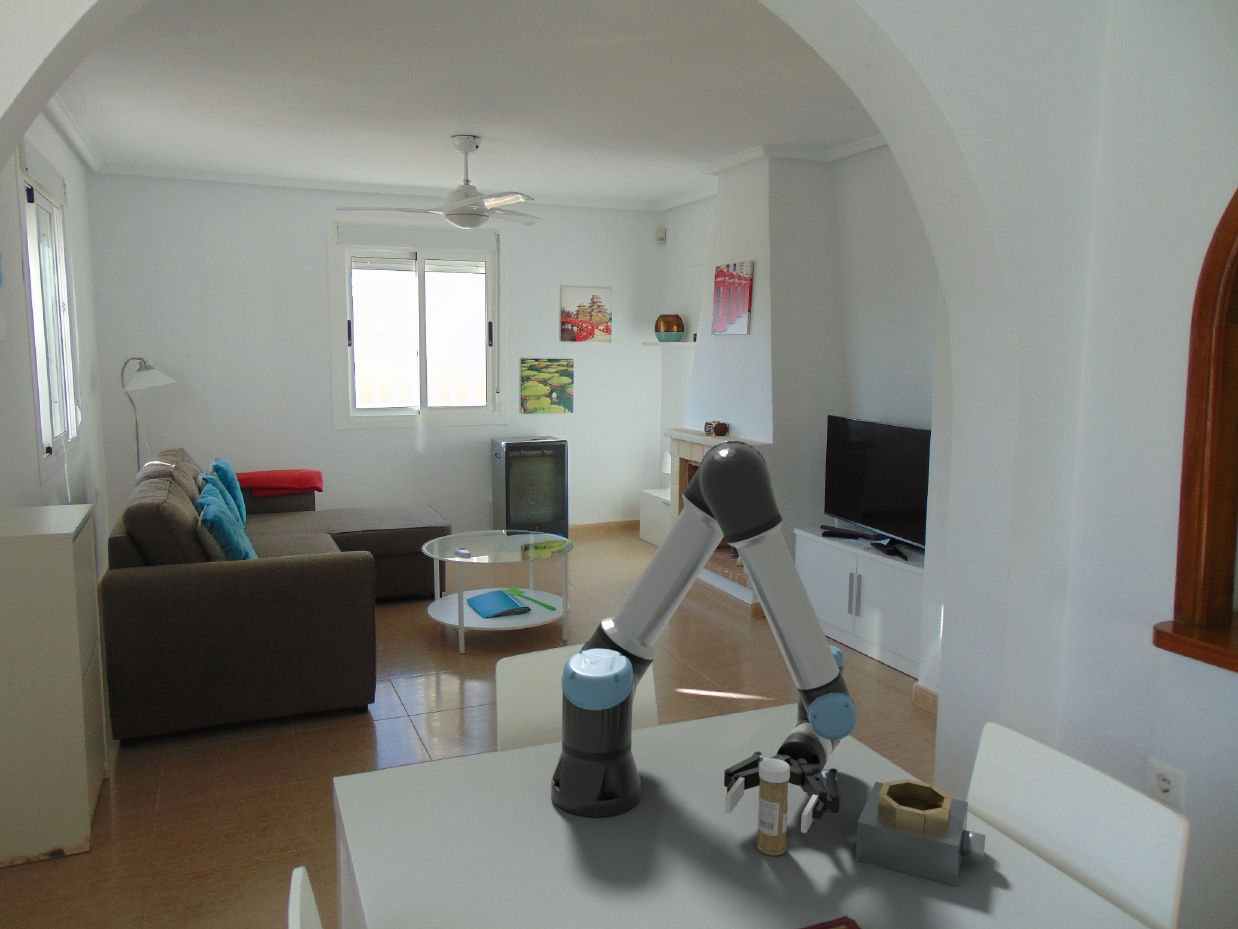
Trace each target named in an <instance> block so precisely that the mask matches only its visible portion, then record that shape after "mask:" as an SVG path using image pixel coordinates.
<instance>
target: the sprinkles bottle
mask: <svg viewBox="0 0 1238 929" xmlns="http://www.w3.org/2000/svg"><path fill="white" fill-rule="evenodd" d="M759 777H760V785H759V786H758V787H759V791H758V805H757V807H758V809H757V810H758V811H757V842H756V848H757V850H758V851H759V852H760V853H762V854H764V855H767V856H772V857H774V856H781V855H783V854H784V853H786V851H787V848H788V846H787V830H788V807H789V805H788V804H789V803H788V802H789V801H788V797H789V795H788V794H789V783H788V782H789V778H790V766H789V764H788V763H786V762H785V761H783V760H779V759H770V758H769V759H765V760H763V761H761V762H760V764H759Z"/></svg>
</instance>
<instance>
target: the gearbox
mask: <svg viewBox="0 0 1238 929" xmlns="http://www.w3.org/2000/svg"><path fill="white" fill-rule="evenodd" d="M968 810H969V801H963V800H960V799H955V798H952V797H951V796H950V795H948V794H947V793H946V792H945V791H943V790H942V789H940V788H939V787H937V786H936V785H934V784H929V783H926V782H922V781H916V780H912V779H907V778H905V779H897V780H892V781H885V782H879V781H874V784H873V786H872V788H871V791H870V794H869V796H868V798H867V800H866V802H865V805H864V807H863V809H862V812H861V814H860V815H859V818H858V820H857V828H856V830H857V831H856V832H857V833H856V834H857V835H856V848H855V850H856V851H855V860H856V859H857V860H856V861H858V860H859V861H858V862H862V861H863V862H862V863H866V862H867V863H866V864H869V865H870V864H871V865H873V864H876V865H875V866H877V865H878V866H877V867H881V866H883V867H882V868H886V869H889V868H890V869H889V870H893V871H896V870H897V872H900V871H902V872H901V873H904V874H907V873H908V875H911V874H912V875H913V876H915V877H916V876H917V877H919V878H922V879H928V880H931V881H935V882H939V883H942V884H945V885H950V886H954V887H957V883H958V879H959V873H960V869H961V864H962V858H963V857H966V858H970V859H974V860H977V861H978V860H979V861H981V862H983V861H984V857H985V848H986V837H987V836H986V834H984V833H980V832H975V831H970V830H967V827H968V826H967V825H968Z"/></svg>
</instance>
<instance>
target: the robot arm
mask: <svg viewBox="0 0 1238 929" xmlns="http://www.w3.org/2000/svg"><path fill="white" fill-rule="evenodd" d="M681 495H682V496H681V497H682V501H683V509H682V510H681V512H680V513H679V515H678V517H677V518H676V519H675V521H674V523H673V524H672V526H671V527H670V529H669V531H668V532H667V534H666V535H665V537H664V538H663V540H662V542H661V543H660V545H659V546H658V548H657V549H656V551H655V553H654V554H653V555H652V557H651V558H650V560H649V561H648V563H647V565H646V567H645V568H644V569H643V572H642V573H641V574H640V576H639V577H638V579H637V581H636V582H635V584H634V585H633V587H632V589H631V590H630V592H629V593H628V594H627V596H626V598H625V599H624V601H623V603H622V604H621V605H620V607H619V609H618V610H617V611H616V613H615V615H614V616H610V617H606V618H602V620H601V622H600V623H599V625H598V626H597V628H596V629H595V630H594V632H593V634H592V635H591V637H589V638H588V640H587V641H585V643H584V644H583V646H582V647H581V649H580V651H579V652H578V653H575V654H573V655H571V656H570V657H569V658H568V659H567V660H566V662H565V663H564V666H563V670H562V671H563V672H562V676H561V689H562V699H561V700H562V705H561V706H562V708H561V710H562V713H561V715H562V716H561V719H562V720H561V722H562V723H561V724H562V726H561V731H562V732H561V738H562V739H561V752H560V754H559V756H558V757H559V758H558V761H557V764H556V766H555V769H554V772H553V775H552V778H551V784H550V797H551V800H552V801H553V803H554V804H555V805H556V806H557V807H558V808H560V809H561V810H564V811H565V812H568V813H570V814H573V815H576V816H577V815H578V816H583V817H593V818H594V817H599V818H600V817H609V816H615V815H619V814H622V813H625V812H627V811H629V810H631V809H632V808H634V807H635V806H636V805H637V804H638V803H639V801H640V800H641V797H642V796H641V795H642V781H641V780H642V779H641V777H640V774H639V771H638V768H637V765H636V761H635V758H634V755H633V752H632V738H633V737H632V736H633V735H632V732H633V730H632V728H633V706H634V700H635V695H636V690H637V688H638V685H639V683H640V682H641V680H642V679H643V677H644V675H645V674H646V672H647V671H648V669H649V668H650V667H651V664H652V663H653V661H654V660H655V658H657V650H656V645H655V643H656V641H657V640H658V638H659V637H660V635H661V633H662V632H663V630H664V629H665V627H666V626H667V625H668V623H669V621H670V620H671V618H672V617H673V615H674V613H675V612H676V611H677V609H678V607H679V606H680V605H681V603H682V601H683V600H684V598H685V596H686V595H687V594H688V592H689V591H690V589H691V588H692V586H693V584H694V583H695V581H696V579H697V578H698V577H699V576H700V574H701V572H703V569H704V568H705V566H706V564H707V563H708V561H709V560H710V559H711V557H712V556H713V554H714V552H715V550H716V549H717V548H718V546H719V544H720V543H721V541H722V540H723V539H725V541H726V543H727V545H729V546H731V547H734V548H735V549H736V551H737V553H738V555H739V557H740V559H741V562H742V564H743V567H744V569H745V572H746V574H747V576H748V578H749V581H750V582H751V585H752V587H753V590H754V592H755V594H756V597H757V599H758V601H759V604H760V606H761V608H762V612H763V613H764V615H765V617H766V620H767V622H768V624H769V627H770V629H771V631H772V634H773V636H774V638H775V641H776V643H777V646H778V648H779V650H780V652H781V655H782V657H783V659H784V661H785V664H786V666H787V668H788V671H789V674H790V675H791V677H792V680H793V682H794V685H795V688H796V689H797V693H798V700H797V716H796V717H797V718H796V720H797V721H796V725H795V726H794V728H793V729H792V730H791V732H790V733H789V734H788V735H787V737H786V738H785V740H784V741H783V743H782V744H781V745H780V747H779V748H778V750H777V752H776V754H775V755H773V756H771V757H770V758H769V757H765V756H762V752H761V751H754V752H753V754H752V755H751V756H749V757H748V758H746V759H744V760H742V761H739V762H738V763H736V764H734V765H731V766H730V767H728V768H726V769H724V775H723V781H724V782H723V786H724V787H725V788H726V794H725V803H724V804H725V807H724V809H725V811H724V812H725V813H726V814H731V813H732V812H733V810H734V809H735V808H736V806H737V805H738V803H739V802H741V799H742V798H743V796H744V795H745V791H746V790H748V789H752V788H756V787H759V786H760V777H759V764H760V762H761V761H763V760H765V759H779V760H783V761H785V762H786V763H788V764H789V766H790V778H789V782H788V784H792V785H794V786H799V787H800V788H801V789H802V791H803V793H806V795H808V796H807V797H809V801H808V802H807V804H806V806H805V808H804V809H803V811H802V813H801V818H800V820H801V821H800V823H801V824H800V832H801V833H802V834H803V833H804V834H807V832H808V830H809V829H810V827H811V825H812V823H813V821H814V820H817V821H819V820H821V819H822V817H823V815H824V813H826V812H827V811H830V813H832V814H836V815H837V814H839V813H840V803H841V801H840V798H841V796H840V792H839V786H838V769H837V768H830V769H829V770H824V768H825V766H826V765H827V763H828V761H829V760H830V758H831V756H832V754H833V752H834V750H835V749H836V747H837V746H839V744H840V743H841V740H842V739H844V738H847V737H848V736H849V735H851V733H853V731H854V730H855V729H856V728H855V727H857V723H858V713H857V706H856V704H855V703H854V700H853V699H852V696H851V693H850V692H849V688H848V686H847V684H846V681H845V679H844V668H845V664H844V653H843V651H842V650H841V649H840V648H839V647H837V646H834V645H831V644H829V642H828V639H827V637H826V635H825V632H824V631H823V628H822V625H821V624H820V621H819V619H818V618H819V617H818V616H817V614H816V611H815V609H814V607H813V604H812V602H811V600H810V599H811V598H810V597H809V595H808V593H807V590H806V587H805V585H804V583H803V580H802V579H801V576H800V574H799V571H798V569H797V567H796V564H795V562H794V559H793V557H792V555H791V553H790V550H789V548H788V545H787V543H786V541H785V538H784V536H783V533H782V531H781V527H782V526H783V523H784V520H783V517H782V515H781V513H780V509H779V507H778V505H777V504H778V503H777V501H776V498H775V497H776V496H775V494H774V490H773V485H772V480H771V473H770V471H769V468H768V465H767V461H766V459H765V458H764V456H763V454H762V453H761V452H760V450H758V449H756V448H755V447H754V446H753V445H751V444H749V443H747V442H744V441H740V440H726V441H722V442H719V443H717V444H714V446H712V447H711V448H710V449H709V448H708V450H707V451H706V453H705V454H704V456H703V457H702V459H701V462H700V464H699V467H698V469H697V470H696V472H695V474H694V475H693V477H692V478H691V480H690V481H689V483H688V485H687V486H686V487H685V490H684V491H683V493H681ZM820 780H822V782H823V783H824V784H823V785H824V787H826V790H824V789H823V788H822V786H821V785H820V783H819V782H818V781H820Z"/></svg>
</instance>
